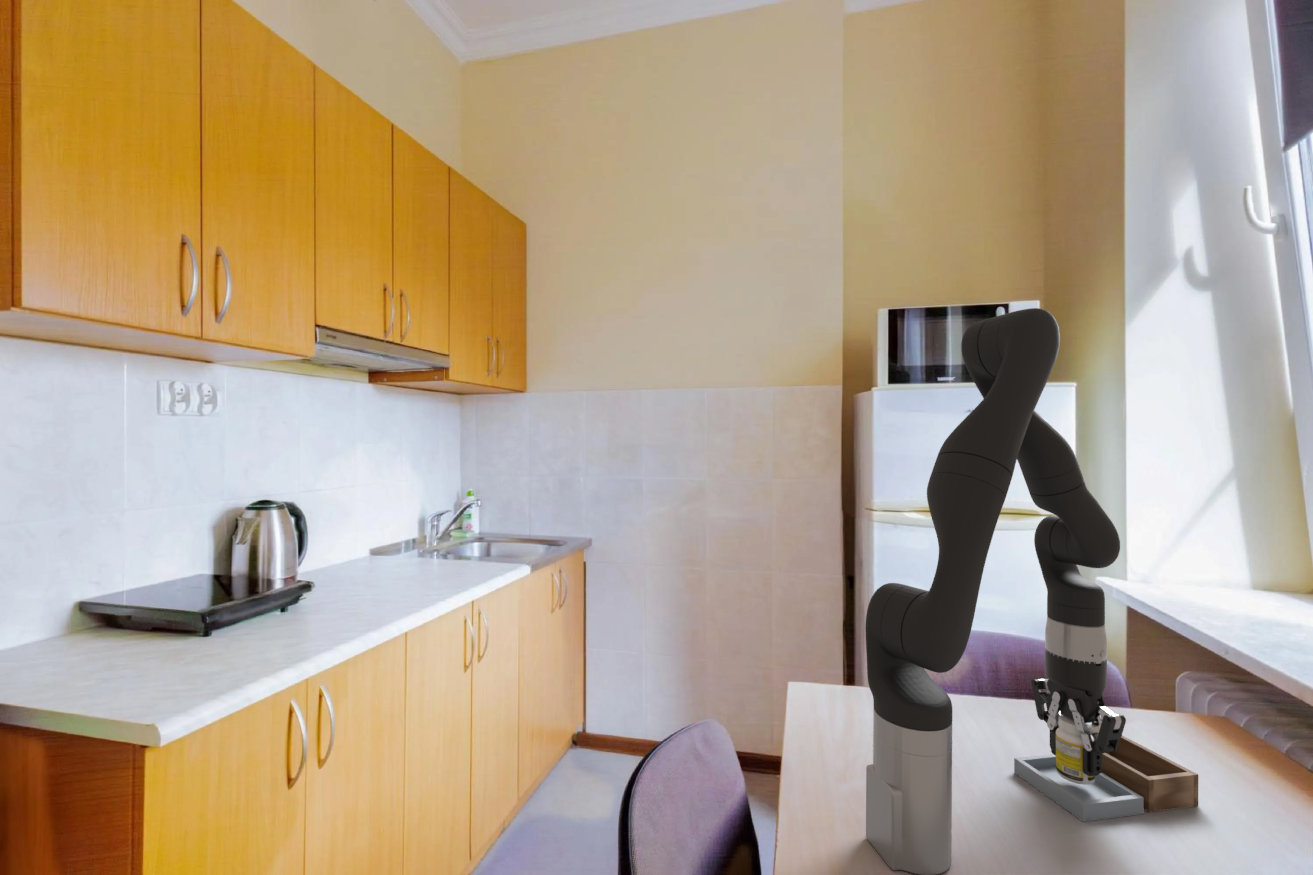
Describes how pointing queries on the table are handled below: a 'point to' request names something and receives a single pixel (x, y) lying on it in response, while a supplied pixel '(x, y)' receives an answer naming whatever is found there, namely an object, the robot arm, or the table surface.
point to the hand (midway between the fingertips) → (1074, 763)
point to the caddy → (1151, 776)
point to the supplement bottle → (1070, 752)
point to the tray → (1079, 790)
